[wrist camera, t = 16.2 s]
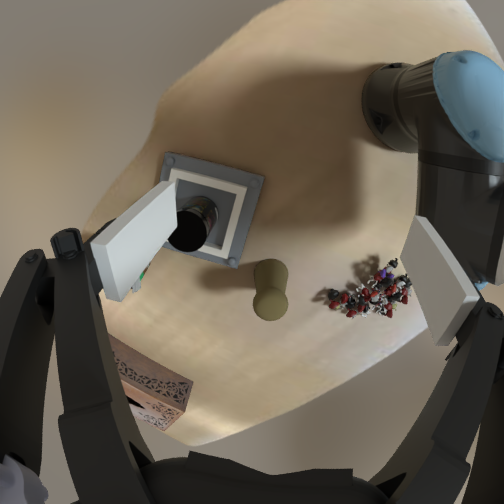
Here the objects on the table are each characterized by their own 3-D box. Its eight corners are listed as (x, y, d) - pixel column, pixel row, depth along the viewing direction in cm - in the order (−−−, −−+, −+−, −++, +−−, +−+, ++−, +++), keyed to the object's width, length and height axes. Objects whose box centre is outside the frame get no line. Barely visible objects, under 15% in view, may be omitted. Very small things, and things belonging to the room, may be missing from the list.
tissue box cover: (93, 358, 65) (77, 382, 56) (102, 328, 60) (83, 355, 50) (172, 403, 69) (164, 431, 60) (193, 381, 64) (184, 412, 55)
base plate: (264, 176, 43) (264, 179, 40) (238, 265, 50) (236, 273, 47) (168, 151, 42) (161, 153, 40) (152, 239, 49) (146, 246, 46)
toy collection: (382, 239, 45) (391, 255, 41) (419, 282, 49) (427, 298, 45) (320, 290, 52) (323, 307, 48) (363, 323, 56) (367, 340, 52)
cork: (247, 278, 51) (241, 315, 41) (266, 252, 48) (264, 285, 38) (275, 294, 52) (275, 333, 42) (295, 270, 49) (300, 306, 39)
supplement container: (180, 198, 44) (159, 214, 36) (215, 191, 43) (201, 206, 35) (189, 232, 46) (171, 255, 38) (223, 226, 45) (211, 249, 37)
